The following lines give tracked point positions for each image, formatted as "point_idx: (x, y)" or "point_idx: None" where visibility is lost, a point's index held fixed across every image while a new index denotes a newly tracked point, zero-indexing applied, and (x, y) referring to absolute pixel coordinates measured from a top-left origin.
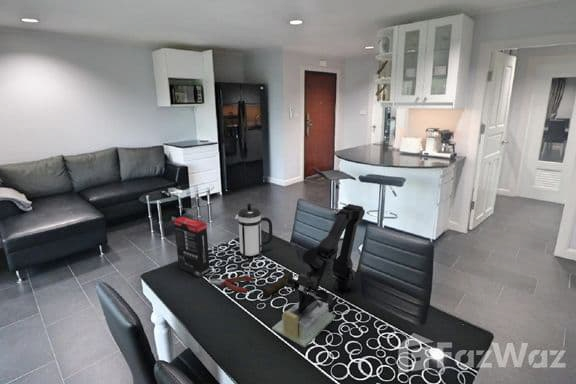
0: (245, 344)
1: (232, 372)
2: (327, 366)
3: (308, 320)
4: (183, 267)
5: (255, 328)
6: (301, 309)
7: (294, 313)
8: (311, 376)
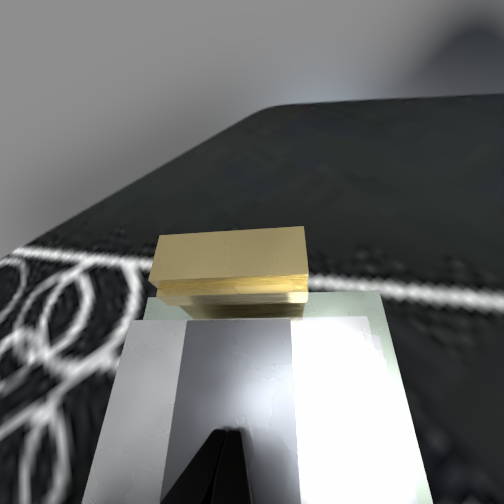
0: (371, 167)
1: (297, 104)
2: (39, 280)
3: (118, 409)
4: None
5: (445, 245)
6: (192, 459)
7: (266, 380)
8: (87, 216)
